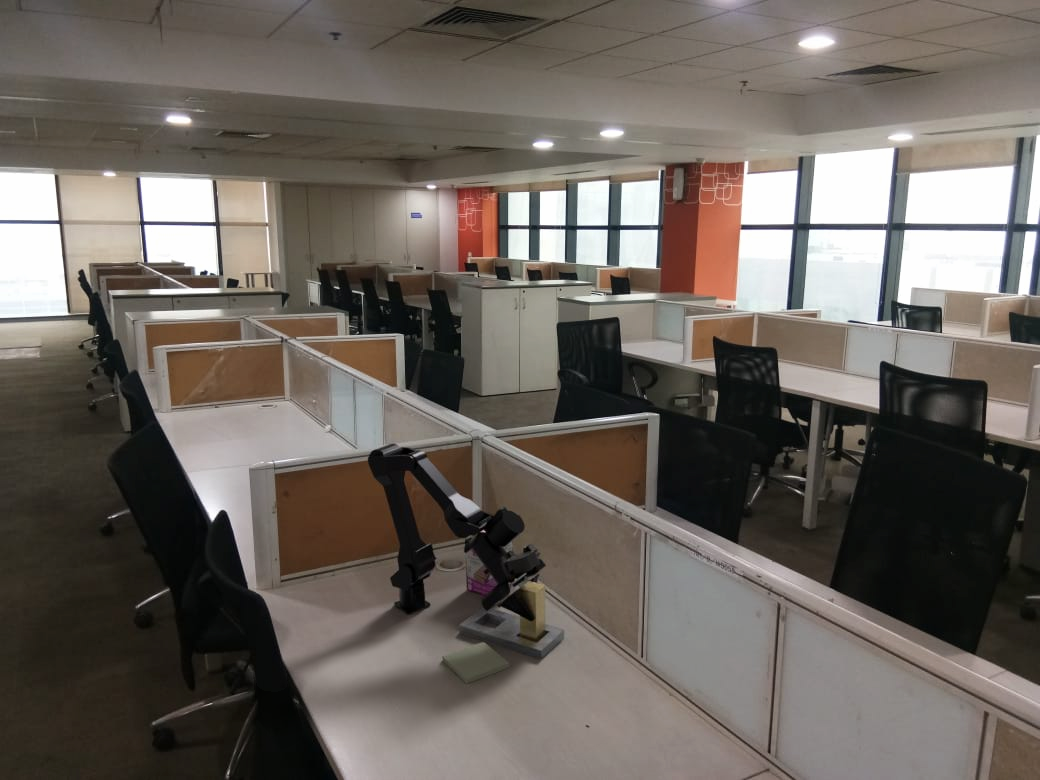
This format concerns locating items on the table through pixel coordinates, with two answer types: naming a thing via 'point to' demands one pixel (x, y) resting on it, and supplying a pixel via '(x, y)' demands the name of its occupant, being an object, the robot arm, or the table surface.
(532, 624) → the brass peg
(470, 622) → the steel rail plate
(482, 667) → the olive rubber mat
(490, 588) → the candy bar box
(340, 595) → the table surface
